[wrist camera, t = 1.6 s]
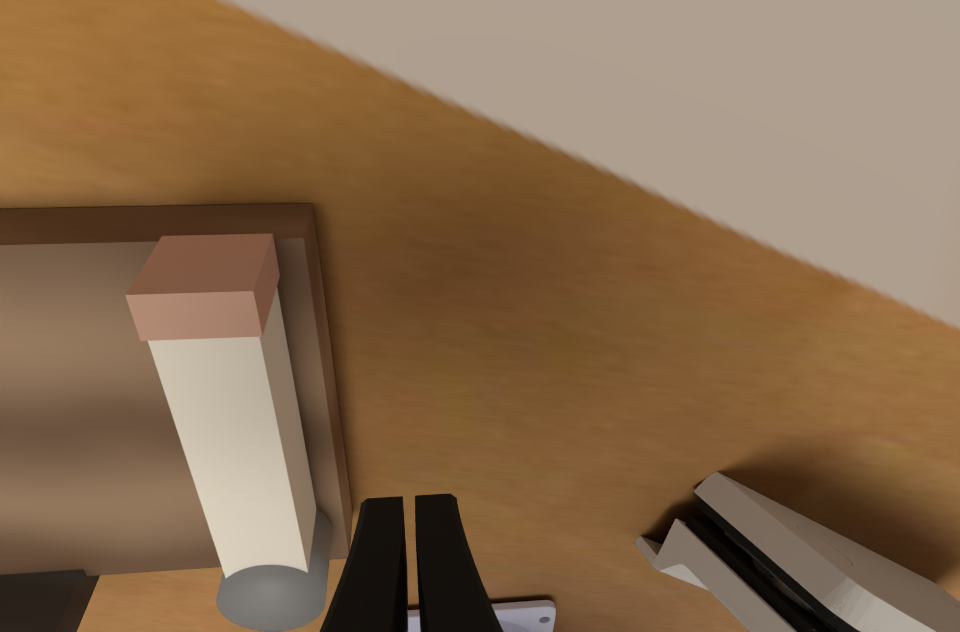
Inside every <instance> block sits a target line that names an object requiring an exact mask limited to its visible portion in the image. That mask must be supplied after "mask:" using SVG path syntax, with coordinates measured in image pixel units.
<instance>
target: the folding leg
mask: <svg viewBox="0 0 960 632" xmlns="http://www.w3.org/2000/svg"><path fill="white" fill-rule="evenodd" d="M279 277H280V273H279V267H278V261H277V255H276V249H275V244H274V238H273V233H272V234H228V235H184V236H162V237H161V238H160V240H159V242H158V243H157V245H156V246H155V248H154V250H153V251H152V253H151V254H150V256H149V258H148V259H147V261H146V262H145V264H144V266H143V267H142V269H141V270H140V272H139V274H138V275H137V277H136V279H135V280H134V282H133V283H132V285H131V287H130V288H129V290H128V291H127V293H126V295H125V296H126V299H127V302H128V305H129V308H130V311H131V314H132V317H133V320H134V323H135V326H136V329H137V332H138V335H139V338H140V341H148V343H149V346H150V349H151V352H152V355H153V358H154V361H155V364H156V368H157V371H158V374H159V377H160V380H161V383H162V386H163V389H164V392H165V395H166V398H167V401H168V404H169V407H170V410H171V413H172V416H173V419H174V422H175V425H176V429H177V432H178V435H179V438H180V441H181V444H182V447H183V450H184V453H185V456H186V459H187V462H188V465H189V468H190V471H191V474H192V477H193V480H194V483H195V486H196V490H197V493H198V496H199V499H200V502H201V505H202V508H203V511H204V514H205V517H206V520H207V523H208V526H209V529H210V532H211V535H212V538H213V541H214V544H215V547H216V551H217V554H218V557H219V560H220V563H221V566H222V569H223V575H222V579H221V583H220V587H219V591H218V595H217V606H218V608H219V610H220V612H221V613H222V614H223V615H224V616H225V617H226V618H227V619H229V620H230V621H232V622H233V623H235V624H237V625H240V626H242V627H245V628H249V629H253V630H259V631H284V630H290V629H294V628H298V627H301V626H304V625H306V624H308V623H310V622H311V621H313V620H314V619H316V618H317V617H318V616H319V615H320V614H321V612H322V611H323V609H324V606H325V598H326V588H327V578H328V568H329V559H330V549H331V539H332V526H331V523H330V521H329V520H328V518H327V517H326V516H325V515H324V514H323V513H322V512H321V511H319V510H318V509H316V504H315V498H314V492H313V487H312V481H311V476H310V470H309V464H308V459H307V453H306V447H305V442H304V436H303V430H302V425H301V419H300V414H299V408H298V402H297V397H296V391H295V385H294V380H293V374H292V369H291V363H290V357H289V352H288V346H287V340H286V335H285V329H284V323H283V318H282V312H281V307H280V301H279V295H278V290H277V284H278V281H279Z"/></svg>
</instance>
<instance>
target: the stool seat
mask: <svg viewBox="0 0 960 632" xmlns="http://www.w3.org/2000/svg"><path fill="white" fill-rule="evenodd" d="M272 233H273V238H274V244H275V249H276V255H277V261H278V267H279V273H280V277H279V281H278V284H277V290H278V295H279V301H280V307H281V312H282V318H283V323H284V329H285V335H286V340H287V346H288V352H289V357H290V363H291V369H292V374H293V380H294V385H295V391H296V397H297V402H298V408H299V414H300V419H301V425H302V430H303V436H304V442H305V447H306V453H307V459H308V464H309V470H310V476H311V481H312V487H313V492H314V498H315V504H316V509H318V510H319V511H321V512H322V513H323V514H324V515H325V516H326V517H327V518H328V520H329V521H330V523H331V526H332V539H331V549H330V559H344V558H348V555H349V551H350V543H351V530H352V516H353V511H352V504H351V496H350V488H349V481H348V473H347V465H346V458H345V450H344V442H343V435H342V427H341V419H340V412H339V404H338V396H337V389H336V381H335V373H334V366H333V358H332V350H331V343H330V335H329V327H328V320H327V312H326V304H325V296H324V289H323V281H322V273H321V266H320V258H319V250H318V243H317V235H316V227H315V220H314V212H313V204H312V203H297V204H243V205H190V206H136V207H82V208H28V209H0V632H77V629H78V627H79V625H80V622H81V620H82V617H83V615H84V613H85V610H86V608H87V605H88V603H89V600H90V598H91V596H92V593H93V591H94V588H95V586H96V584H97V581H98V579H99V576H100V575H110V574H125V573H140V572H154V571H169V570H183V569H198V568H213V567H222V566H221V563H220V560H219V557H218V554H217V551H216V547H215V544H214V541H213V538H212V535H211V532H210V529H209V526H208V523H207V520H206V517H205V514H204V511H203V508H202V505H201V502H200V499H199V496H198V493H197V490H196V486H195V483H194V480H193V477H192V474H191V471H190V468H189V465H188V462H187V459H186V456H185V453H184V450H183V447H182V444H181V441H180V438H179V435H178V432H177V429H176V425H175V422H174V419H173V416H172V413H171V410H170V407H169V404H168V401H167V398H166V395H165V392H164V389H163V386H162V383H161V380H160V377H159V374H158V371H157V368H156V364H155V361H154V358H153V355H152V352H151V349H150V346H149V343H148V341H140V338H139V335H138V332H137V329H136V326H135V323H134V320H133V317H132V314H131V311H130V308H129V305H128V302H127V299H126V296H125V295H126V293H127V291H128V290H129V288H130V287H131V285H132V283H133V282H134V280H135V279H136V277H137V275H138V274H139V272H140V270H141V269H142V267H143V266H144V264H145V262H146V261H147V259H148V258H149V256H150V254H151V253H152V251H153V250H154V248H155V246H156V245H157V243H158V242H159V240H160V238H161V237H162V236H184V235H228V234H272ZM330 559H329V560H330Z"/></svg>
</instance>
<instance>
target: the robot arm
mask: <svg viewBox="0 0 960 632" xmlns="http://www.w3.org/2000/svg"><path fill="white" fill-rule="evenodd" d="M415 523H416V552H417V573H418V594H419V610H408V588H407V558H406V542H405V526H404V510H403V496H401V497H385V498H368V499H366V500H365V501H364V502H362V503H361V507H360V513H359V518H358V522H357V526H356V530H355V534H354V538H353V541H352V545H351V548H350V551H349V555H348V558H347V561H346V564H345V567H344V570H343V573H342V576H341V578H340V581H339V584H338V586H337V589H336V591H335V594H334V597H333V599H332V602H331V605H330V607H329V610H328V613H327V615H326V618H325V620H324V623H323V625H322V627H321V630H320V632H553V628H554V622H555V616H556V609H555V604H554V603H553V602H552V601H550V600H537V601H524V602H510V603H497V604H491V602H490V600H489V598H488V595H487V593H486V591H485V588H484V586H483V584H482V581H481V579H480V576H479V573H478V571H477V568H476V566H475V563H474V560H473V557H472V554H471V551H470V549H469V546H468V543H467V539H466V536H465V533H464V530H463V526H462V522H461V518H460V514H459V510H458V505H457V498H456V497H455V496H453V495H452V494H435V495H418V496H415Z"/></svg>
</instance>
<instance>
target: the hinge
mask: <svg viewBox="0 0 960 632" xmlns="http://www.w3.org/2000/svg"><path fill="white" fill-rule="evenodd" d="M694 492H695V493H696V494H697V495H698V496H699V497H700V498H702V500H701V501H700V503H699V504H698V506H697V507H698V508H699V509H700V510H701V511H703V512H704V513H705V514H706V515H707V516H708V517H709V518H710V519H711V520H713V521H714V522H715V523H716V524H717V525H718V526H719V527H720V528H722V529H723V530H724V531H725V534H723V533H722V532H721V531H720V530H719V529H718V528H716V527H714V526H711V525H709V524H707V523H705V522H703V521H700V520H698V519H696V518H694V517H692V516H690V517H689V519H688V520H687V522H686V523H685V522H683V521H681V520H678V519H675V521H674V523H673V525H672V527H671V529H670V531H669V533H668V535H667V537H666V539H665V541H664V543H663V545H661V544H659V543H656V542H654V541H652V540H649V539H647V538H645V537H642V536H639V537H638V538H637V539H636V541H635V542H634V544H635V546H636V547H637V548H638V549H639V551H640V552H641V553H642V554H643V555H644V557H645V558H646V559H647V560H648V561H649V563H650V564H651V565H652V566H653V568H654V569H656V570H658V571H661V572H663V573H666V574H668V575H671V576H673V577H676V578H678V579H681V580H683V581H686V582H688V583H691V584H693V585H696V586H698V587H701V588H703V589H706V590H708V591H710V592H711V593H712V594H713V595H714V596H715V597H716V598H717V599H718V600H719V601H720V602H721V603H722V604H723V605H724V606H725V607H726V608H727V609H728V610H729V611H730V612H731V613H732V614H733V615H734V616H735V617H736V619H737V620H738V621H739V622H740V623H741V624H742V625H743V626H744V627H745V628H746V629H747V630H748V631H749V632H960V602H959V601H958V600H957V599H955V598H954V597H953V596H951V595H950V594H949V593H947V592H946V591H945V590H943V589H942V588H941V587H939V586H938V585H937V584H935V583H934V582H932V581H930V580H928V579H926V578H924V577H922V576H920V575H918V574H916V573H914V572H913V571H911V570H909V569H907V568H905V567H903V566H901V565H899V564H897V563H895V562H893V561H891V560H889V559H887V558H885V557H883V556H881V555H879V554H877V553H875V552H873V551H871V550H869V549H867V548H865V547H863V546H861V545H860V544H858V543H856V542H854V541H852V540H850V539H848V538H846V537H844V536H842V535H840V534H838V533H836V532H834V531H832V530H830V529H828V528H826V527H824V526H822V525H820V524H818V523H816V522H814V521H812V520H810V519H809V518H807V517H805V516H803V515H801V514H799V513H797V512H795V511H793V510H791V509H789V508H787V507H785V506H783V505H781V504H779V503H777V502H775V501H773V500H771V499H769V498H767V497H765V496H763V495H761V494H759V493H757V492H756V491H754V490H752V489H750V488H748V487H746V486H744V485H742V484H740V483H738V482H736V481H734V480H732V479H730V478H728V477H726V476H724V475H722V474H720V473H718V472H715V473H714V474H712V475H710V476H708V477H707V478H706V479H705V480H704V481H703V482H702V483H701V484H700V485H699V486H698V487H697V488H696V489H695V490H694Z"/></svg>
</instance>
